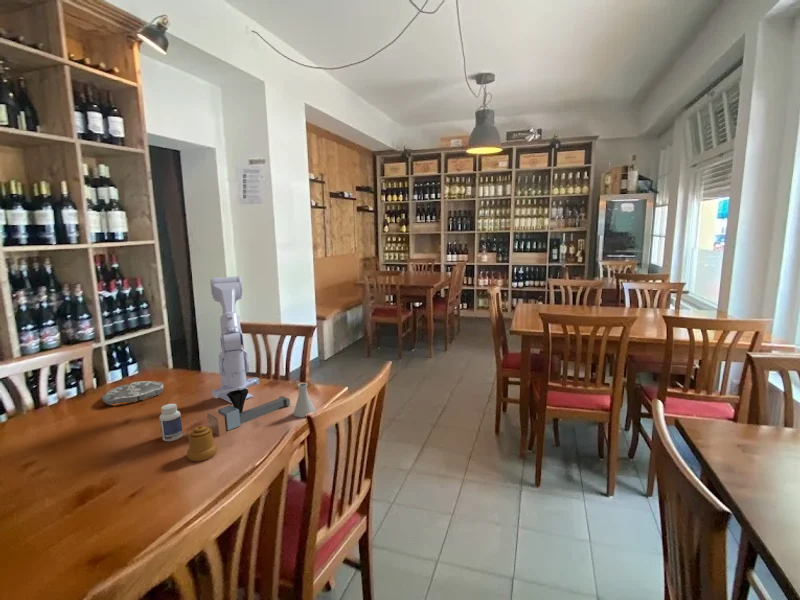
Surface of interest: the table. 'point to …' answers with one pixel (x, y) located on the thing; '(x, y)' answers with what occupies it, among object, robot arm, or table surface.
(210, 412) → the rail
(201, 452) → the ornamental finial
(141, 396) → the brain slice
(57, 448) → the table surface
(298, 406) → the flask
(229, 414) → the block
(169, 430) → the pill bottle
